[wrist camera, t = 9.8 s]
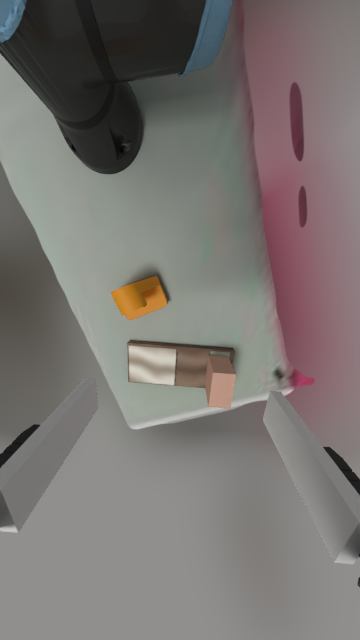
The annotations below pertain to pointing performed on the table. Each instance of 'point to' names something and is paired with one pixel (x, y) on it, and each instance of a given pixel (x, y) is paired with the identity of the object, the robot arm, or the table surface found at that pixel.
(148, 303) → the bracket
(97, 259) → the table surface
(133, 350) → the board
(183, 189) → the table surface
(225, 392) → the stub
